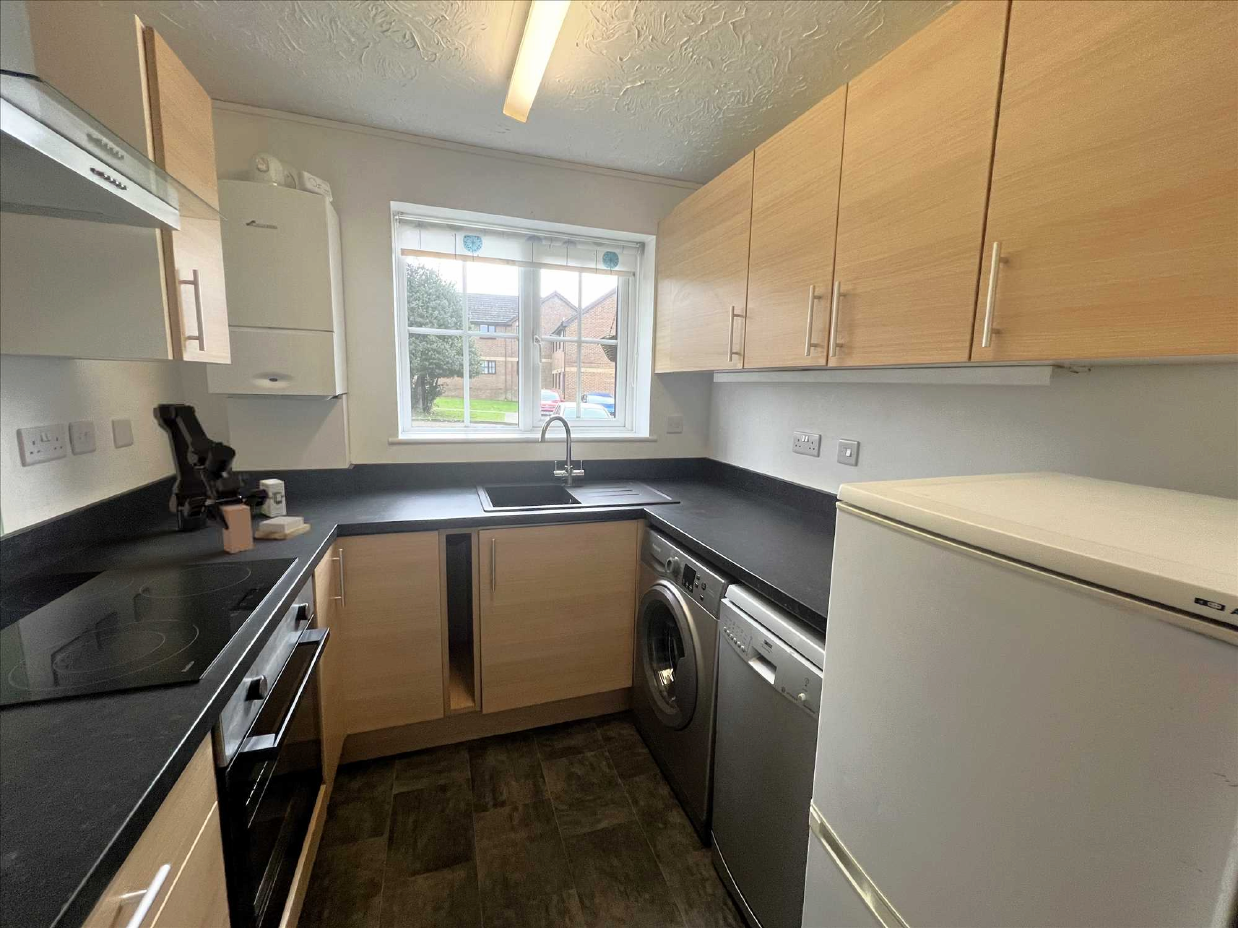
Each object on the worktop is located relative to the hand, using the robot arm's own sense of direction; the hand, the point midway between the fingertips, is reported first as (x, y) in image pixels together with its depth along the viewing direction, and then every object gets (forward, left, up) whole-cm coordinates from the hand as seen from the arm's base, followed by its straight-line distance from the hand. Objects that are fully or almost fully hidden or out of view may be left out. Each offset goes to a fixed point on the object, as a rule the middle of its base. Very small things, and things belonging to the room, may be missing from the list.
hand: (239, 527), depth 140 cm
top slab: (+1, +16, -5) cm, 17 cm away
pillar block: (-1, +1, -7) cm, 7 cm away
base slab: (+1, +16, -7) cm, 18 cm away
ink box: (-17, +38, -7) cm, 42 cm away
